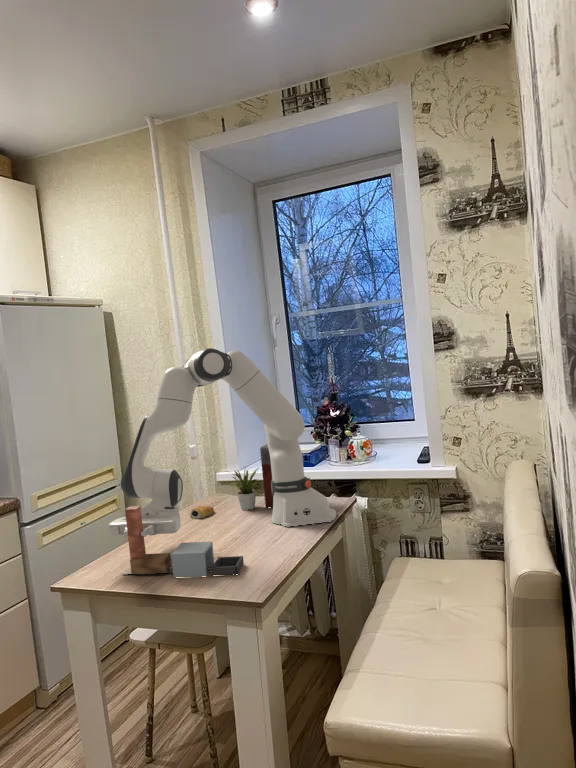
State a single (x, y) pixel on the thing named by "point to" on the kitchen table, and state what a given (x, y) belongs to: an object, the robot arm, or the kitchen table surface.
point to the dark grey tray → (227, 565)
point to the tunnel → (192, 559)
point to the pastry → (201, 512)
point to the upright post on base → (143, 547)
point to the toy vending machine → (266, 475)
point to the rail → (167, 572)
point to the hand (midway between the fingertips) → (134, 534)
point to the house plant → (246, 490)
